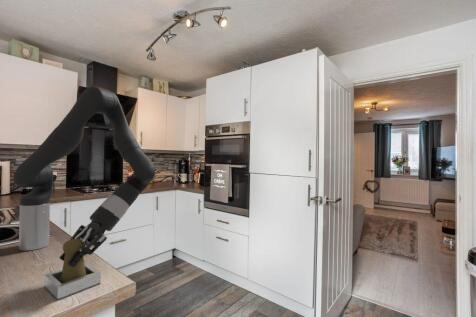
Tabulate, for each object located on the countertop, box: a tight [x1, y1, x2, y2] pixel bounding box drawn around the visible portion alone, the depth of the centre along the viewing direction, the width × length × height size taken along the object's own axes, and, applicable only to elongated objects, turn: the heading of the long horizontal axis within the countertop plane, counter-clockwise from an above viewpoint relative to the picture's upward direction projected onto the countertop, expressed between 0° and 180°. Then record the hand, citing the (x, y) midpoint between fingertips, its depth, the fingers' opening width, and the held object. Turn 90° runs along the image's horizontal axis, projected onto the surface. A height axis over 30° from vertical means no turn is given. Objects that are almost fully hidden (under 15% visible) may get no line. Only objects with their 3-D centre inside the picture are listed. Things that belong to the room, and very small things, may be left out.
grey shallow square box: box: [43, 261, 102, 302], centre depth 68 cm, size 10×10×3 cm
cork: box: [61, 238, 86, 283], centre depth 69 cm, size 6×6×11 cm
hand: (66, 262), depth 67 cm, fingers closed on cork, 5 cm apart
